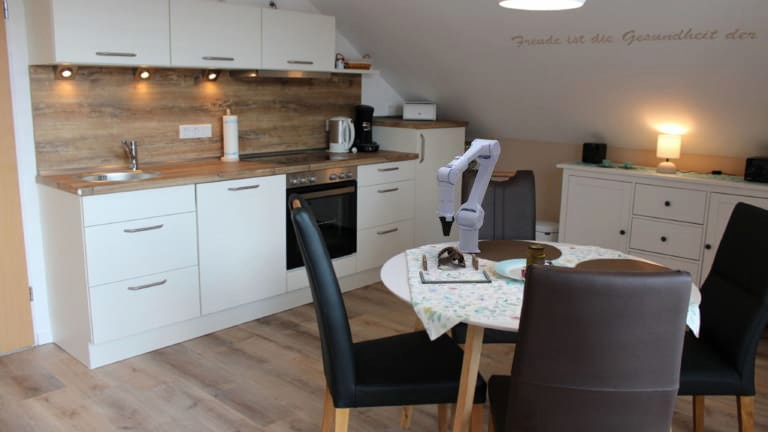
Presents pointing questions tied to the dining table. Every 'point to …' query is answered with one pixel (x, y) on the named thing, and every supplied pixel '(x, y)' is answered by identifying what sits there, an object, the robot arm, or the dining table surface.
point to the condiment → (535, 255)
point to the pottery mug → (451, 256)
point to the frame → (457, 281)
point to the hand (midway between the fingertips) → (446, 235)
